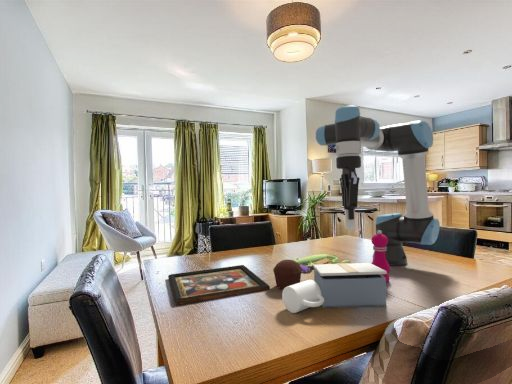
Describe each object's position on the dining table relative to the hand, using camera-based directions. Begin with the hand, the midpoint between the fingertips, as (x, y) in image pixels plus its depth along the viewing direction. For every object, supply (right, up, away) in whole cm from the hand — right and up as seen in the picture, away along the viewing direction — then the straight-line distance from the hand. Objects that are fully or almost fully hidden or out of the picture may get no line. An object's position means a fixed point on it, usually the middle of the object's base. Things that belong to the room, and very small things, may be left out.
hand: (350, 229), depth 94 cm
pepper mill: (+19, -23, +22) cm, 37 cm away
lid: (0, -14, +5) cm, 15 cm away
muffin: (-18, -25, +18) cm, 36 cm away
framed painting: (-47, -26, +24) cm, 59 cm away
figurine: (-1, -24, +43) cm, 49 cm away
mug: (-15, -25, -3) cm, 29 cm away
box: (+1, -24, +5) cm, 25 cm away
